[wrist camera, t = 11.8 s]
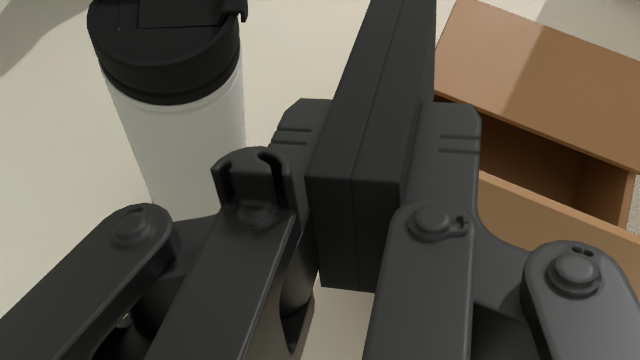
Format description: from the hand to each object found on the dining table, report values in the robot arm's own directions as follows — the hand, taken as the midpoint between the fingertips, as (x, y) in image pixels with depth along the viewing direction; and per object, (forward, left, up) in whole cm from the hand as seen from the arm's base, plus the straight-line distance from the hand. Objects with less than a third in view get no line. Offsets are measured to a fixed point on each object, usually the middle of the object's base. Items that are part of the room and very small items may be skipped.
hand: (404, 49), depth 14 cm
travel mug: (-11, -2, -27) cm, 29 cm away
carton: (-1, +15, -27) cm, 31 cm away
